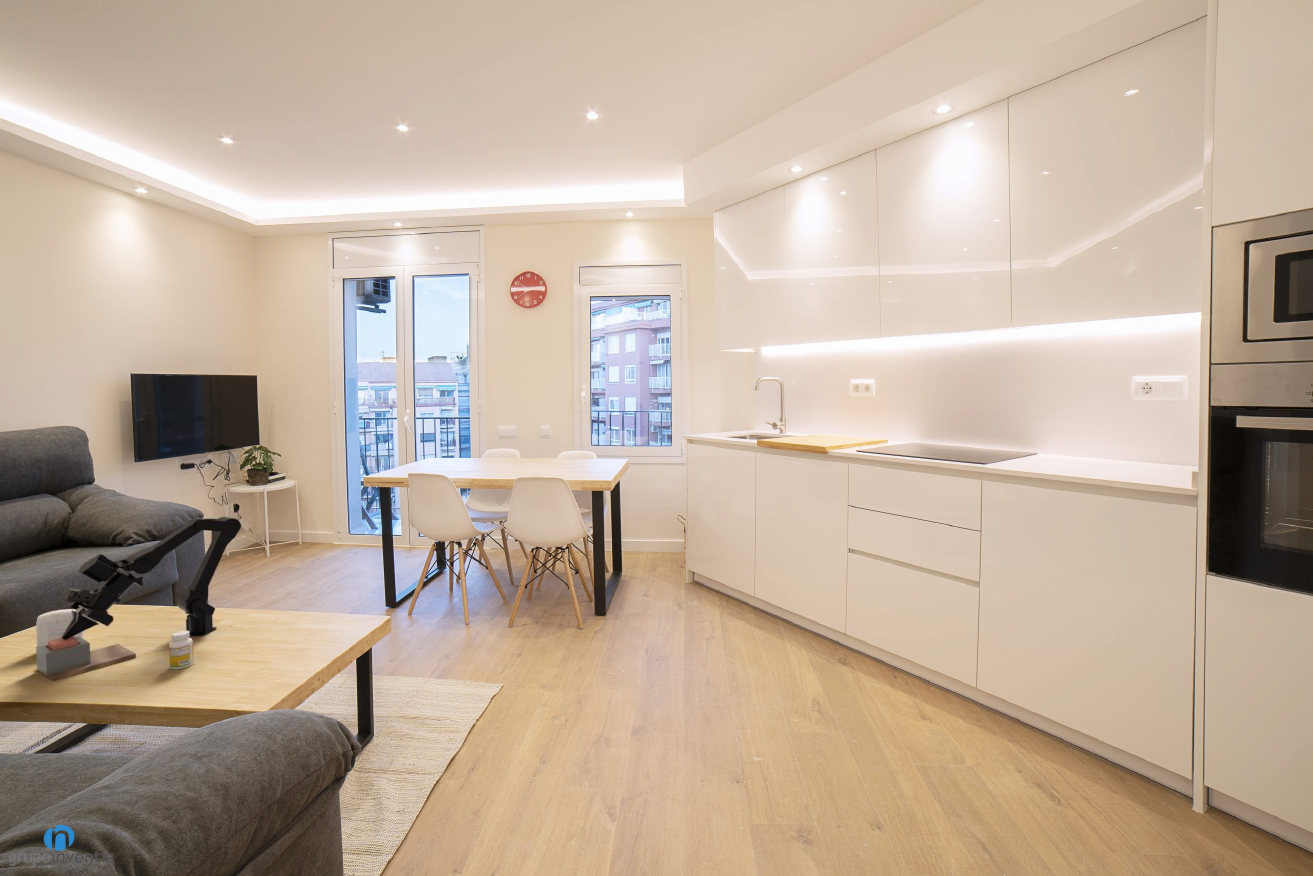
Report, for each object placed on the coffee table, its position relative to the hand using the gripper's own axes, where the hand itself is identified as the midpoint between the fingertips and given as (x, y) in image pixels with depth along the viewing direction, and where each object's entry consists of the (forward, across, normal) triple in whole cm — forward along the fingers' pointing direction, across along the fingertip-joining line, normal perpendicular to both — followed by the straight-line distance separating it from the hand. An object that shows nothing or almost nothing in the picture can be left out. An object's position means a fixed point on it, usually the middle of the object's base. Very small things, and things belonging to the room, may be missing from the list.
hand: (63, 639), depth 168 cm
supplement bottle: (-7, +26, +20) cm, 33 cm away
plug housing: (+6, 0, +5) cm, 8 cm away
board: (+3, 0, +10) cm, 10 cm away
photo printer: (+4, -20, +9) cm, 23 cm away
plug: (+5, 0, +4) cm, 6 cm away
